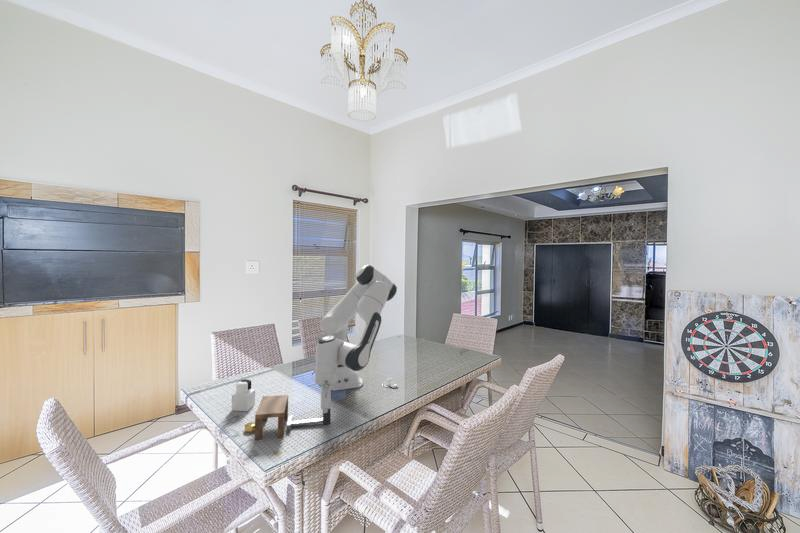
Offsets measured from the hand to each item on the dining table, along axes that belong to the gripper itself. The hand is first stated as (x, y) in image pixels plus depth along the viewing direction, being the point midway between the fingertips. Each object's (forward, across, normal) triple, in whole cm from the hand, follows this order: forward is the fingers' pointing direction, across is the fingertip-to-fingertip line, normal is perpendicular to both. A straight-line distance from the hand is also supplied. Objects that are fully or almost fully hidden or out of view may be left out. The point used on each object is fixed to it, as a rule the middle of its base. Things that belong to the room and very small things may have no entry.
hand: (325, 410), depth 137 cm
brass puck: (+6, 0, +28) cm, 29 cm away
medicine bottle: (+6, +20, +35) cm, 41 cm away
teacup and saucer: (+6, +34, -32) cm, 47 cm away
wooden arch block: (+6, 0, +20) cm, 21 cm away
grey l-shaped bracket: (+5, 0, +6) cm, 8 cm away
